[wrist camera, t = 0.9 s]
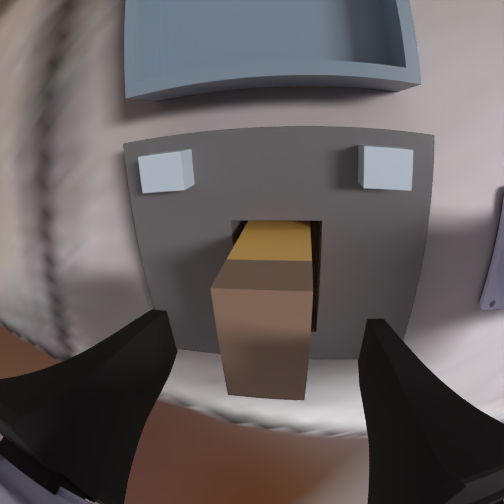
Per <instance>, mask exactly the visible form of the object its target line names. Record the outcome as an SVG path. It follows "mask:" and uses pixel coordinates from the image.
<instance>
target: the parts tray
mask: <svg viewBox="0 0 504 504" xmlns="http://www.w3.org/2000/svg"><path fill="white" fill-rule="evenodd" d="M124 71H125V96H126V99H137V100H148V101H161V100H167V99H172V98H178V97H183V96H190V95H196V94H203V93H210V92H218V91H227V90H237V89H248V88H263V87H284V86H332V87H353V88H367V89H378V90H388V91H396V92H399V91H402V90H405V89H408V88H411V87H414V86H417V85H420V84H421V76H420V66H419V57H418V49H417V42H416V35H415V29H414V23H413V18H412V13H411V8H410V3H409V0H126V2H125V25H124Z"/></svg>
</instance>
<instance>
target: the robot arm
mask: <svg viewBox="0 0 504 504" xmlns="http://www.w3.org/2000/svg"><path fill="white" fill-rule="evenodd" d="M479 306H480V308H481V309H482V310H495V309H504V198H503V205H502V212H501V218H500V224H499V229H498V234H497V239H496V244H495V248H494V253H493V257H492V261H491V265H490V269H489V272H488V276H487V280H486V283H485V286H484V290H483V293H482V296H481V299H480V302H479ZM176 354H177V348H176V344H175V341H174V337H173V333H172V329H171V326H170V322H169V318H168V314H167V311H164V310H154V309H153V310H151V311H149V312H147V313H146V314H144V315H142V316H141V317H139V318H138V319H136V320H134V321H133V322H131V323H130V324H128V325H127V326H125V327H124V328H122V329H121V330H119V331H118V332H116V333H114V334H113V335H111V336H110V337H108V338H107V339H105V340H103V341H101V342H100V343H98V344H96V345H95V346H93V347H91V348H90V349H88V350H86V351H84V352H82V353H80V354H78V355H76V356H74V357H72V358H70V359H68V360H66V361H63V362H61V363H58V364H56V365H53V366H51V367H48V368H45V369H42V370H39V371H36V372H32V373H29V374H25V375H21V376H16V377H11V378H4V379H0V433H1V435H2V436H4V437H3V439H2V440H1V441H0V504H92V503H90V502H88V501H86V500H85V498H86V499H88V500H90V501H92V502H98V503H99V504H124V500H125V494H126V488H127V482H128V478H129V474H130V470H131V466H132V462H133V459H134V455H135V451H136V448H137V445H138V442H139V439H140V436H141V433H142V430H143V428H144V425H145V422H146V420H147V418H148V416H149V414H150V412H151V410H152V408H153V406H154V404H155V402H156V400H157V398H158V396H159V394H160V392H161V391H162V389H163V387H164V385H165V383H166V381H167V379H168V376H169V374H170V372H171V369H172V366H173V364H174V361H175V357H176ZM358 369H359V384H360V391H361V397H362V402H363V408H364V414H365V420H366V426H367V432H368V440H369V492H368V504H504V501H503V499H504V424H503V423H501V422H500V421H498V420H496V419H494V418H492V417H490V416H489V415H487V414H485V413H484V412H482V411H480V410H479V409H477V408H476V407H474V406H473V405H471V404H470V403H469V402H467V401H466V400H464V399H463V398H462V397H460V396H459V395H458V394H456V393H455V392H454V391H453V390H451V389H450V388H449V387H448V386H447V385H446V384H444V383H443V382H442V381H441V380H440V379H439V378H438V377H436V376H435V375H434V374H433V373H432V372H431V371H430V370H429V369H428V368H427V367H426V366H425V365H424V364H423V363H422V362H421V361H420V360H419V358H418V357H417V356H416V355H415V354H414V353H413V352H412V351H411V350H410V349H409V348H408V346H407V345H406V344H405V343H404V342H403V341H402V339H401V338H400V337H399V336H398V335H397V334H396V332H395V331H394V330H393V329H392V328H391V326H390V325H389V324H388V323H387V322H386V321H385V320H384V318H381V319H367V321H366V327H365V332H364V337H363V341H362V346H361V351H360V355H359V359H358Z"/></svg>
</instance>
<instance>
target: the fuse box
mask: <svg viewBox="0 0 504 504" xmlns="http://www.w3.org/2000/svg"><path fill="white" fill-rule="evenodd" d="M123 147H124V156H125V164H126V172H127V179H128V186H129V193H130V200H131V206H132V212H133V217H134V223H135V228H136V234H137V239H138V244H139V249H140V254H141V258H142V263H143V267H144V272H145V276H146V280H147V284H148V289H149V293H150V297H151V300H152V304H153V308H154V310H164V311H167V314H168V318H169V322H170V326H171V329H172V333H173V337H174V341H175V344H176V348H177V349H184V350H192V351H200V352H209V353H218V354H221V353H220V347H219V341H218V334H217V328H216V322H215V315H214V309H213V302H212V295H211V286H212V284H213V282H214V281H215V279H216V277H217V275H218V274H219V272H220V270H221V268H222V266H223V265H224V263H225V261H226V259H227V258H228V256H229V254H230V252H231V250H232V249H233V247H234V245H235V243H236V242H237V240H238V238H239V236H240V235H241V220H305V221H320V228H319V260H318V282H317V299H316V310H312V320H311V334H310V347H309V359H359V355H360V351H361V346H362V341H363V337H364V332H365V327H366V321H367V319H381V318H384V320H385V321H386V322H387V323H388V324H389V325H390V326H391V328H392V329H393V330H394V331H395V332H396V334H397V335H398V336H399V337H400V338H401V339H402V341H403V339H404V335H405V332H406V328H407V325H408V321H409V318H410V314H411V310H412V306H413V302H414V298H415V294H416V289H417V285H418V280H419V275H420V270H421V265H422V260H423V254H424V248H425V242H426V236H427V229H428V221H429V213H430V204H431V194H432V182H433V165H434V135H430V134H422V133H414V132H405V131H396V130H385V129H372V128H356V127H330V126H283V127H257V128H240V129H227V130H215V131H205V132H196V133H188V134H180V135H172V136H165V137H159V138H152V139H146V140H141V141H135V142H129V143H124V144H123Z"/></svg>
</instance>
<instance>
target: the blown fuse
mask: <svg viewBox="0 0 504 504" xmlns="http://www.w3.org/2000/svg"><path fill="white" fill-rule="evenodd" d="M211 295H212V302H213V309H214V315H215V322H216V328H217V334H218V341H219V347H220V353H221V358H222V364H223V370H224V375H225V381H226V386H227V392H228V395H235V396H245V397H256V398H269V399H285V400H304V399H305V389H306V380H307V370H308V359H309V347H310V334H311V320H312V303H313V272H312V249H311V231H310V221H305V220H249V221H248V222H247V224H246V226H245V228H244V229H243V231H242V233H241V235H240V236H239V238H238V240H237V242H236V243H235V245H234V247H233V249H232V250H231V252H230V254H229V256H228V258H227V259H226V261H225V263H224V265H223V266H222V268H221V270H220V272H219V274H218V275H217V277H216V279H215V281H214V282H213V284H212V286H211Z"/></svg>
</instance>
